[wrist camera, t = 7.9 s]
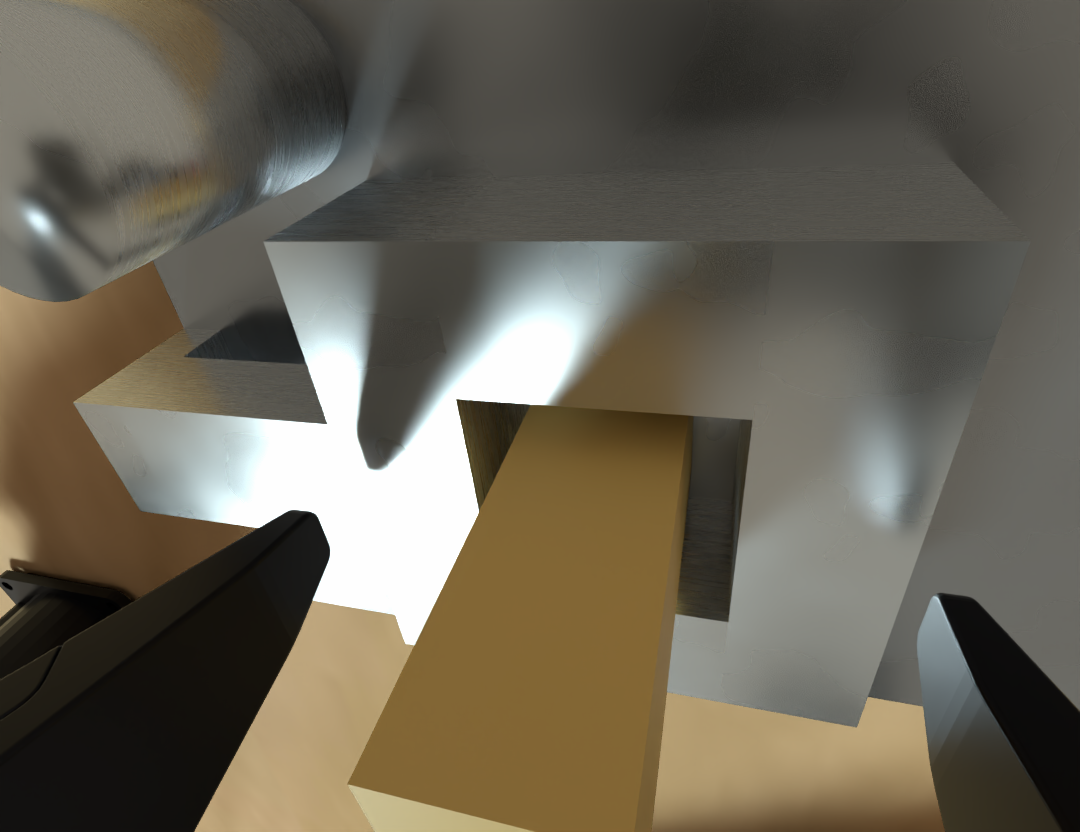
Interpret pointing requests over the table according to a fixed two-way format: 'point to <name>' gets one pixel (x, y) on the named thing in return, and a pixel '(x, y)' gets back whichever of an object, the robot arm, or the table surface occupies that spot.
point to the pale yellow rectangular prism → (545, 641)
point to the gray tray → (593, 290)
